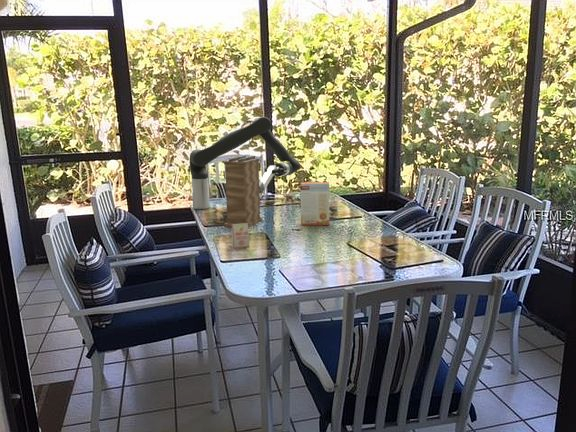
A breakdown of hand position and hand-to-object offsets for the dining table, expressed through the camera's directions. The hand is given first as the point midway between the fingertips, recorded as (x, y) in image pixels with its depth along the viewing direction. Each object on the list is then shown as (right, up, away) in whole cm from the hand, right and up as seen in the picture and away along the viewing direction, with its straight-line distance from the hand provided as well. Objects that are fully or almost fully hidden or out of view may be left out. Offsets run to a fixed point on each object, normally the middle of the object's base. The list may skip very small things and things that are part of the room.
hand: (269, 171), depth 272 cm
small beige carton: (-10, -37, -60) cm, 72 cm away
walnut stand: (-12, -28, -21) cm, 37 cm away
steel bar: (-1, -5, -2) cm, 6 cm away
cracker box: (+24, -28, -24) cm, 44 cm away
